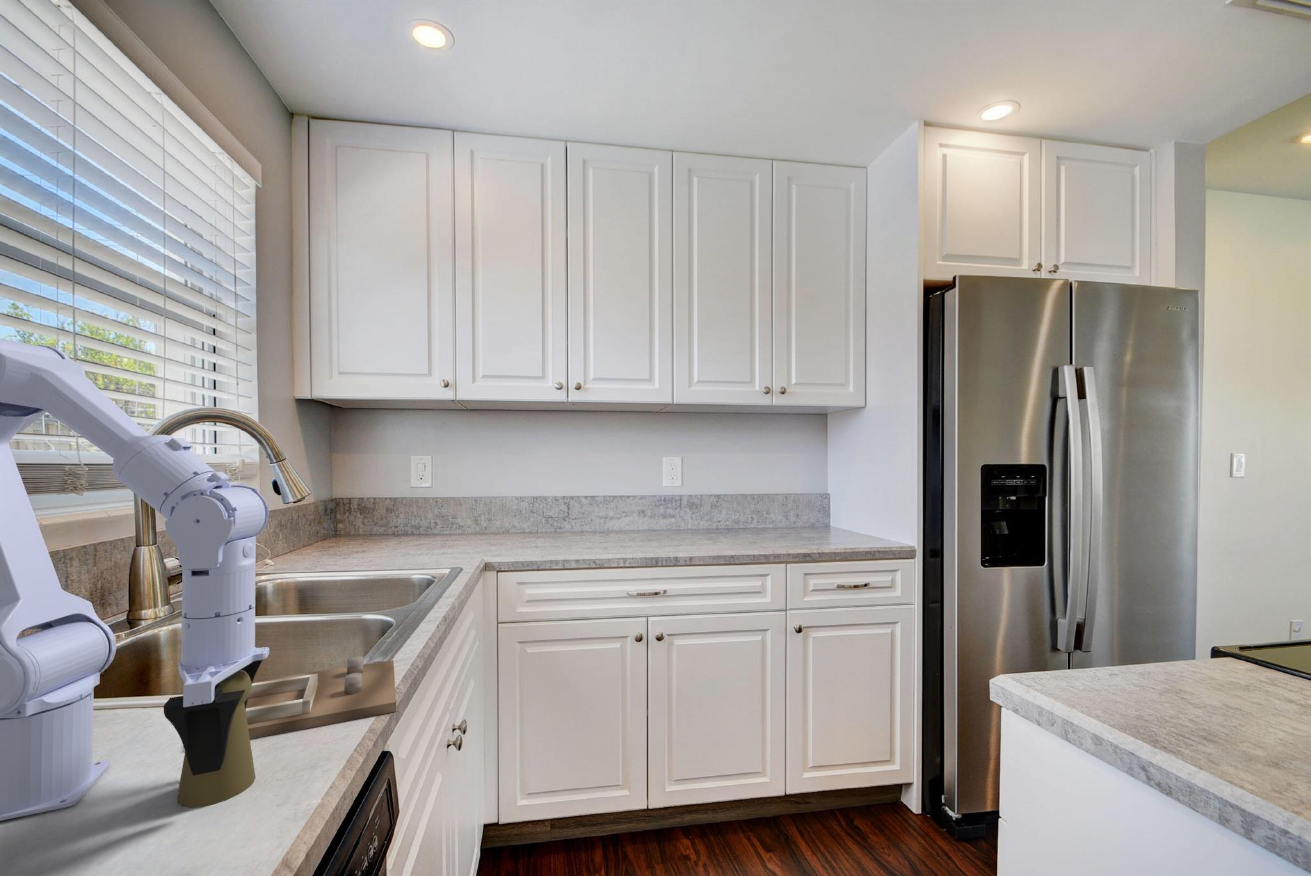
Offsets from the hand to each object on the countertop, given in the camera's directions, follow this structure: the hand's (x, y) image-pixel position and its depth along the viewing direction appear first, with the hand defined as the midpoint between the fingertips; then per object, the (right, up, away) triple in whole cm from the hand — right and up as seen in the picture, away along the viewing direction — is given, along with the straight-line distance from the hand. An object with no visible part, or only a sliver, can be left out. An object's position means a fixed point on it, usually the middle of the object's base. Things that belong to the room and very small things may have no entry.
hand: (218, 751), depth 55 cm
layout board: (-2, -4, +19) cm, 19 cm away
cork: (0, -4, 0) cm, 4 cm away
